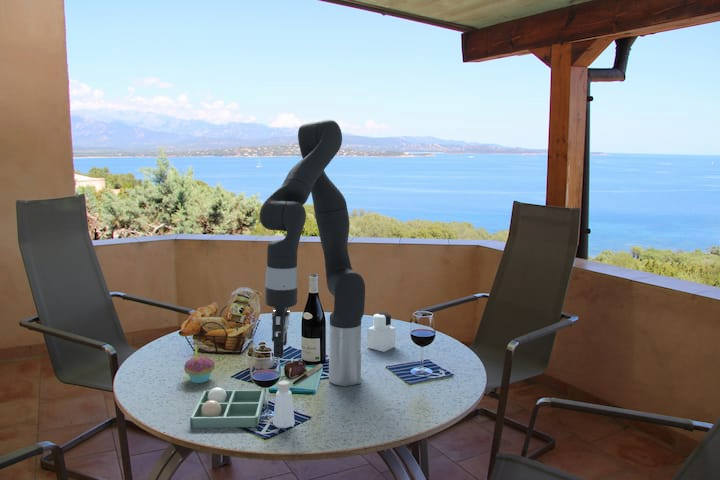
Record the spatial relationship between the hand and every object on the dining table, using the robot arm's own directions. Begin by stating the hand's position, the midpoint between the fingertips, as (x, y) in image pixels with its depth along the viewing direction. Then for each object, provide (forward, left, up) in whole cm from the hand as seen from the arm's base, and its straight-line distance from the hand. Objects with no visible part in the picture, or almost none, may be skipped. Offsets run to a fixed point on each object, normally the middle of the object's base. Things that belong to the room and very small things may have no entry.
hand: (280, 350), depth 132 cm
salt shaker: (-1, +1, -19) cm, 19 cm away
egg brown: (+17, -1, -18) cm, 25 cm away
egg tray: (+13, -5, -19) cm, 23 cm away
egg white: (+17, -9, -18) cm, 26 cm away
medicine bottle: (-31, -54, -19) cm, 65 cm away
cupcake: (+25, -26, -19) cm, 41 cm away
